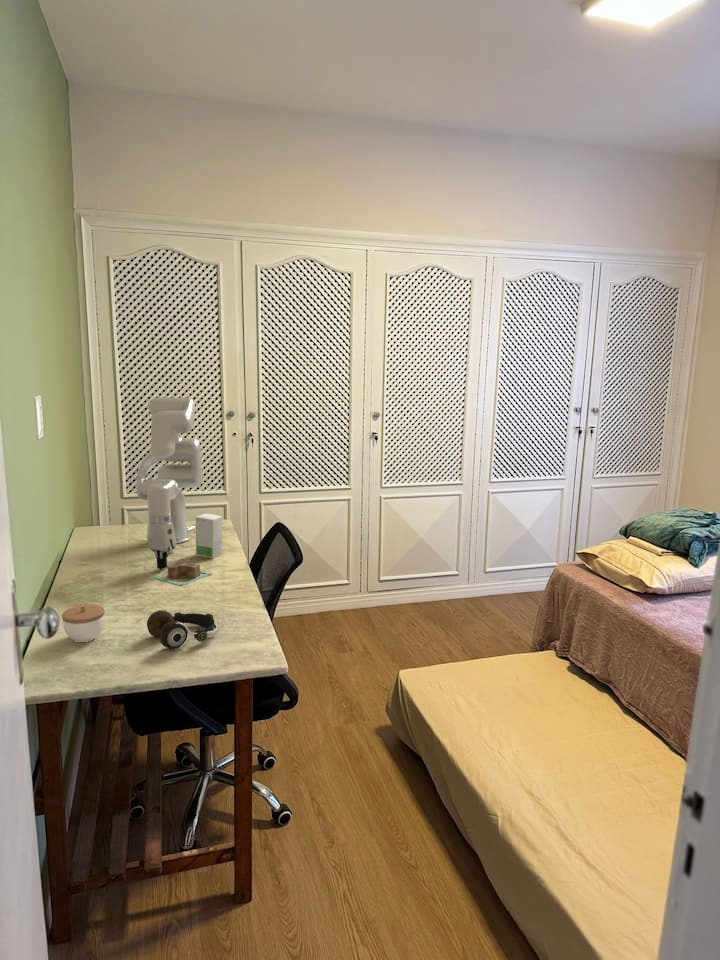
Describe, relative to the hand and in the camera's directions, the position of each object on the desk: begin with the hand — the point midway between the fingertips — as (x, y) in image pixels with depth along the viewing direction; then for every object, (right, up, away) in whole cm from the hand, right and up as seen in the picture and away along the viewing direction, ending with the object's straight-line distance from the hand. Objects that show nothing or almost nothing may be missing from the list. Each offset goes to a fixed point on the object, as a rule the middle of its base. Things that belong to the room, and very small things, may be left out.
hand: (162, 567), depth 233 cm
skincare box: (+13, +2, +17) cm, 22 cm away
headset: (+22, -12, -51) cm, 57 cm away
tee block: (+10, -2, -5) cm, 11 cm away
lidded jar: (-5, -12, -54) cm, 55 cm away
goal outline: (+8, -2, -5) cm, 10 cm away
